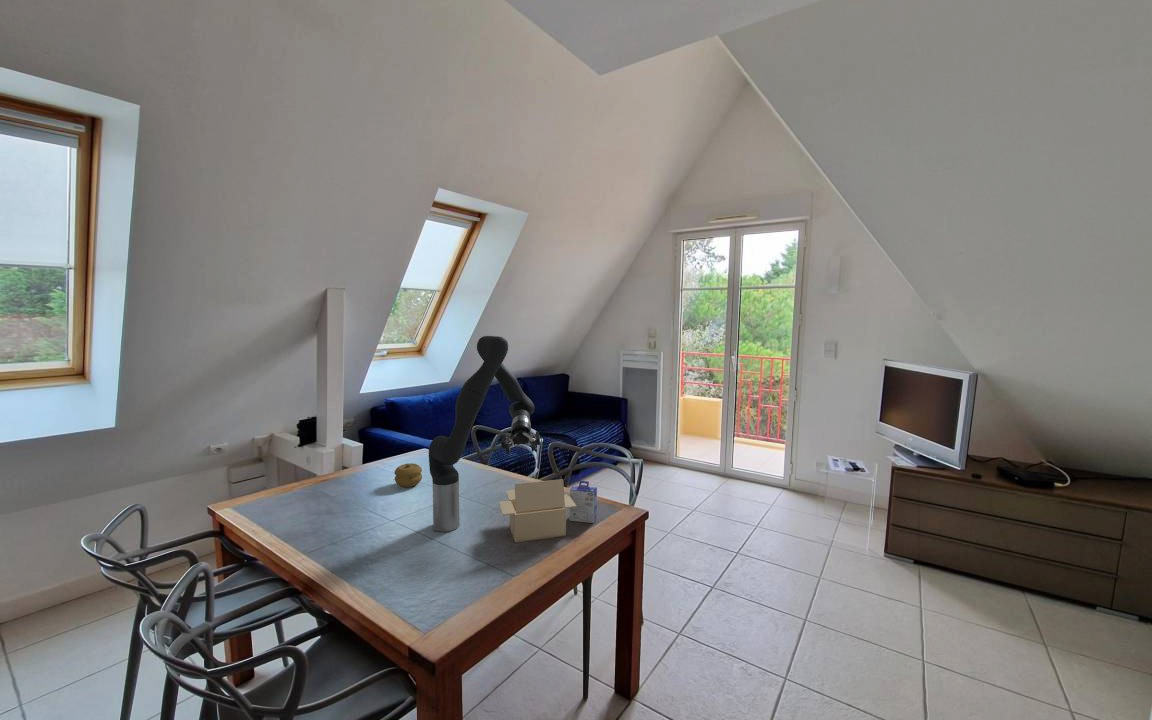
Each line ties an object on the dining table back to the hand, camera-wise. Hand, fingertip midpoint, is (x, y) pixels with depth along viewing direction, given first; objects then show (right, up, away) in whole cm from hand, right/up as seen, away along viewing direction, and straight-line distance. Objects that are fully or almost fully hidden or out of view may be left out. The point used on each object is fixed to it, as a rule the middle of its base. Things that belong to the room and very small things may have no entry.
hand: (520, 450), depth 168 cm
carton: (+5, -29, +5) cm, 29 cm away
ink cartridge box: (+23, -28, +11) cm, 38 cm away
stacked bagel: (-55, -24, +43) cm, 74 cm away
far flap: (+7, -14, -5) cm, 17 cm away
